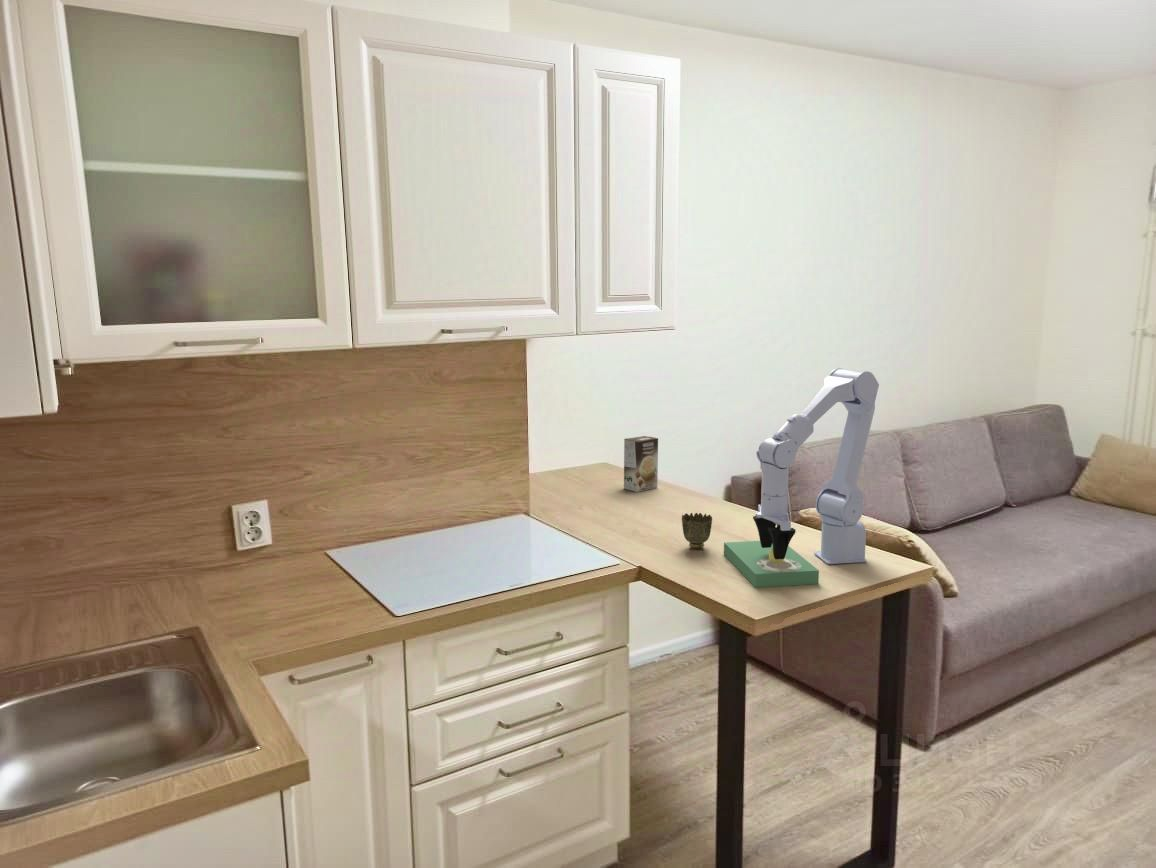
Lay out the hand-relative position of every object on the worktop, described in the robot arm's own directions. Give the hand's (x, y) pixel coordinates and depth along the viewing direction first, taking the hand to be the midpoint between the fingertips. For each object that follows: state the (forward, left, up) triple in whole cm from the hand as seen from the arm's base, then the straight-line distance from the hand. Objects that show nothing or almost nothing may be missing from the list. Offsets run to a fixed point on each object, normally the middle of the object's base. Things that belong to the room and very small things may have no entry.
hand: (772, 552), depth 185 cm
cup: (+12, -19, -5) cm, 23 cm away
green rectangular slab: (0, -2, -4) cm, 5 cm away
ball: (0, +2, 0) cm, 2 cm away
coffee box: (+13, -80, -5) cm, 81 cm away
